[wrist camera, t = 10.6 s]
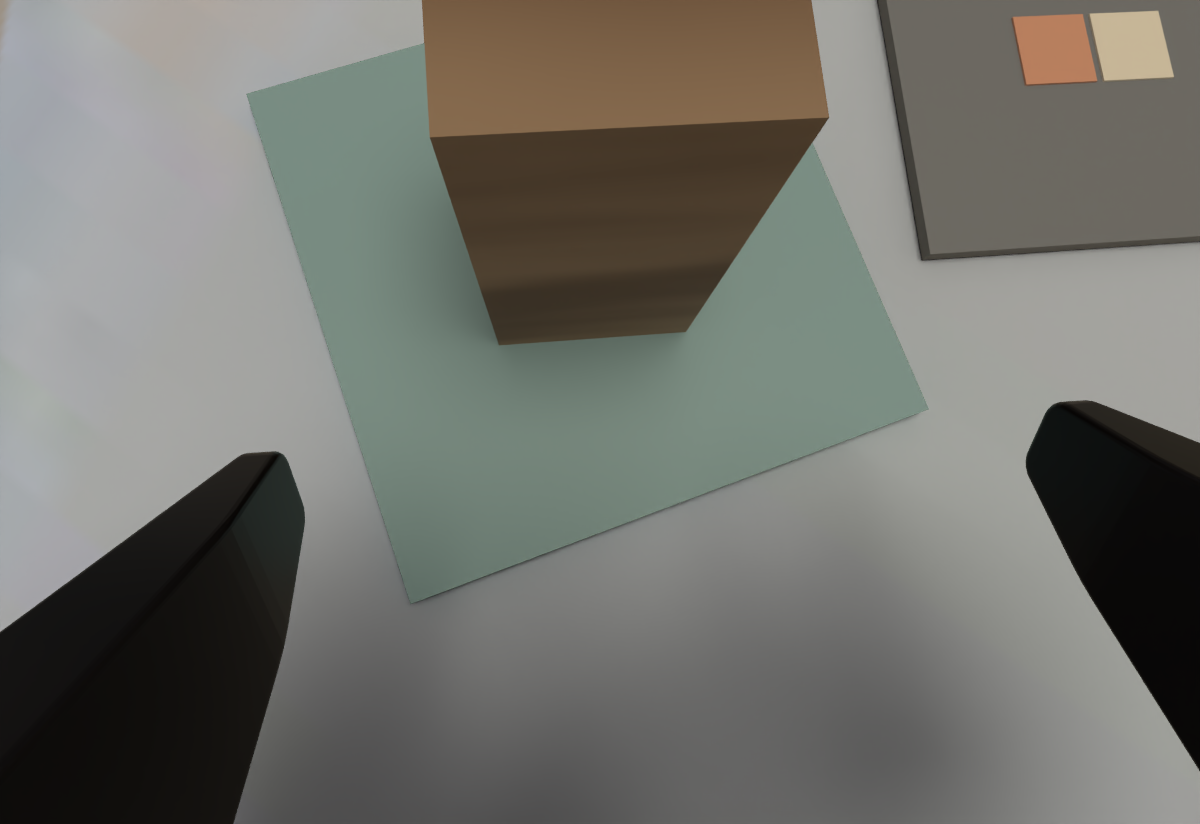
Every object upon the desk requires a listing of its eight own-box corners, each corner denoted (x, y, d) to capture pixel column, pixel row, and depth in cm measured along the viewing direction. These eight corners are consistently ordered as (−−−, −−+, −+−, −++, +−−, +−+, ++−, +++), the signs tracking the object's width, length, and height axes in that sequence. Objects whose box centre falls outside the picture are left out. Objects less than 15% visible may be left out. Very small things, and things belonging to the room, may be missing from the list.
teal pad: (918, 412, 17) (928, 409, 17) (414, 601, 16) (410, 604, 15) (726, -30, 19) (730, -45, 19) (255, 106, 18) (246, 94, 17)
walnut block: (686, 332, 17) (828, 117, 8) (498, 345, 16) (429, 137, 8) (666, 159, 17) (778, -217, 9) (486, 168, 17) (409, -212, 8)
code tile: (1312, 233, 19) (1331, 226, 18) (922, 259, 18) (931, 253, 18) (1220, -120, 20) (1235, -134, 20) (859, -110, 20) (866, -125, 19)
